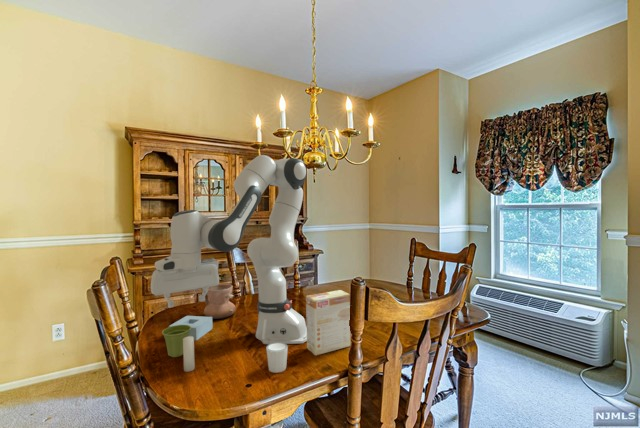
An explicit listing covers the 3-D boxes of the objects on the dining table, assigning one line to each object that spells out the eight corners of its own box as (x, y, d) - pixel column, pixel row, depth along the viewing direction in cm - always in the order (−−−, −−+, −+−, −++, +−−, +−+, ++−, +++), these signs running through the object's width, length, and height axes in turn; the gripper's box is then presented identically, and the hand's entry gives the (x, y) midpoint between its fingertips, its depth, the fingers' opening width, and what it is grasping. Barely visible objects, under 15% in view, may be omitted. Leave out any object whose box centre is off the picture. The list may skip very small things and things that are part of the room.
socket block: (212, 328, 134) (212, 317, 134) (196, 340, 123) (196, 327, 122) (187, 327, 137) (186, 315, 136) (169, 338, 125) (168, 326, 125)
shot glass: (288, 362, 104) (288, 341, 104) (287, 373, 97) (287, 351, 97) (268, 363, 104) (267, 342, 104) (265, 374, 97) (264, 351, 97)
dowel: (196, 366, 102) (195, 336, 102) (190, 371, 99) (189, 340, 99) (187, 366, 103) (186, 335, 103) (181, 371, 100) (180, 340, 99)
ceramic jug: (244, 314, 152) (243, 285, 151) (220, 324, 139) (219, 292, 139) (218, 308, 161) (217, 281, 160) (194, 317, 148) (193, 287, 148)
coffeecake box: (341, 339, 122) (340, 289, 121) (351, 346, 115) (350, 293, 115) (306, 348, 114) (305, 295, 114) (315, 356, 108) (314, 300, 108)
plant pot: (160, 361, 106) (159, 336, 106) (165, 349, 115) (164, 326, 115) (190, 357, 109) (189, 332, 108) (193, 346, 118) (192, 323, 117)
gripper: (214, 256, 109) (215, 295, 109) (148, 263, 96) (149, 308, 96) (221, 258, 104) (222, 299, 104) (153, 266, 91) (154, 313, 92)
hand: (186, 304), depth 100 cm, fingers open, 8 cm apart
